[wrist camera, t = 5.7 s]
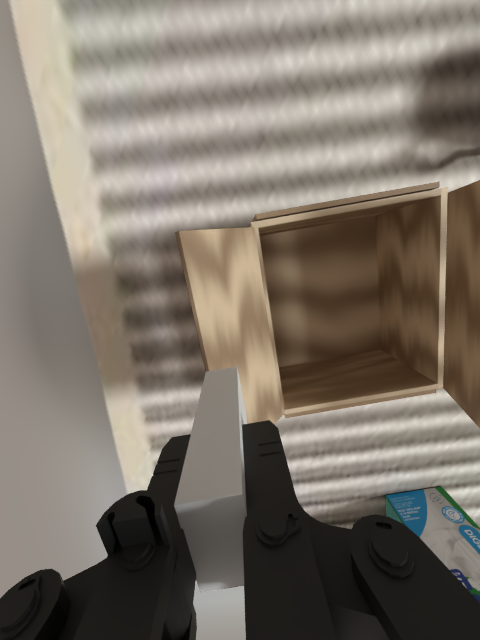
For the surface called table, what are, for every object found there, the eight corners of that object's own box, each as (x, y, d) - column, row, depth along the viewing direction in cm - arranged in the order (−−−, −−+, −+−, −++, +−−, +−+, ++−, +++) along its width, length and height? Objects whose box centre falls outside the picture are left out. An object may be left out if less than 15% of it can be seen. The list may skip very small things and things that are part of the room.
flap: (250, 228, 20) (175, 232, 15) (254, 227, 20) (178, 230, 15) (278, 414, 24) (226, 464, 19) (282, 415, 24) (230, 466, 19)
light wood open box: (244, 229, 30) (250, 215, 20) (376, 206, 30) (447, 179, 20) (267, 374, 34) (280, 420, 25) (382, 355, 34) (442, 392, 24)
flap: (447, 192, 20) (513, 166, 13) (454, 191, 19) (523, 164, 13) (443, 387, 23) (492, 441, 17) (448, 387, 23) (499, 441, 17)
